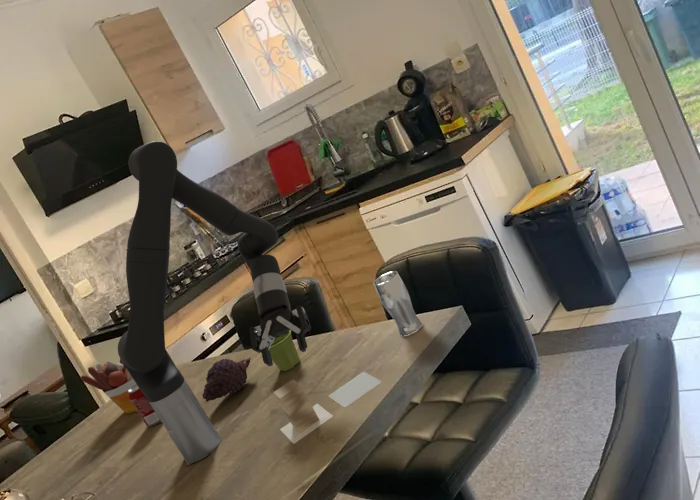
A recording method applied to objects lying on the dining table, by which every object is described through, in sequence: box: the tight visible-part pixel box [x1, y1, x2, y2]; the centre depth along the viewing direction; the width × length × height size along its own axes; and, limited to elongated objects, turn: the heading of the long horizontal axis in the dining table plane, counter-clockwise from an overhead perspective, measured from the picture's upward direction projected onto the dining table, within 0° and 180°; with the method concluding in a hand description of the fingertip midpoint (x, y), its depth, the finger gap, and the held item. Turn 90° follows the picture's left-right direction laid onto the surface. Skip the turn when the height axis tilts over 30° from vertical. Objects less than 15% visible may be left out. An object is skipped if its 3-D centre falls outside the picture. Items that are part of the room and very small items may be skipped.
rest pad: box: [328, 371, 382, 408], centre depth 148 cm, size 10×10×1 cm
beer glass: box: [372, 270, 423, 337], centre depth 162 cm, size 7×7×15 cm
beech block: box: [273, 379, 319, 433], centre depth 142 cm, size 5×5×9 cm
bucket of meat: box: [80, 358, 138, 414], centre depth 208 cm, size 20×16×20 cm
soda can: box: [128, 384, 162, 427], centre depth 188 cm, size 7×7×12 cm
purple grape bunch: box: [202, 357, 251, 403], centre depth 180 cm, size 18×10×10 cm, turn 140°
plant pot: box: [269, 329, 301, 372], centre depth 179 cm, size 9×9×9 cm
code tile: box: [279, 403, 334, 445], centre depth 143 cm, size 10×10×1 cm
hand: (286, 358), depth 149 cm, fingers open, 8 cm apart
